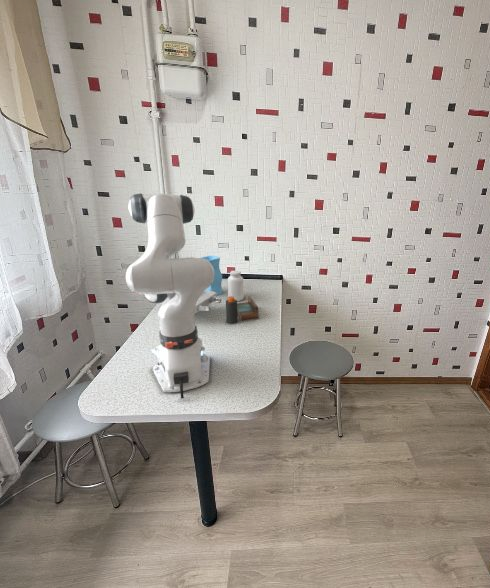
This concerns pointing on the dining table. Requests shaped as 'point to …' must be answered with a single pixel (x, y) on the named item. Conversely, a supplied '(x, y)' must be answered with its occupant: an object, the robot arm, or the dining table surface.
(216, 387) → the dining table surface
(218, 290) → the vase
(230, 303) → the bottle
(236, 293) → the pill bottle
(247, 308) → the brown tray
